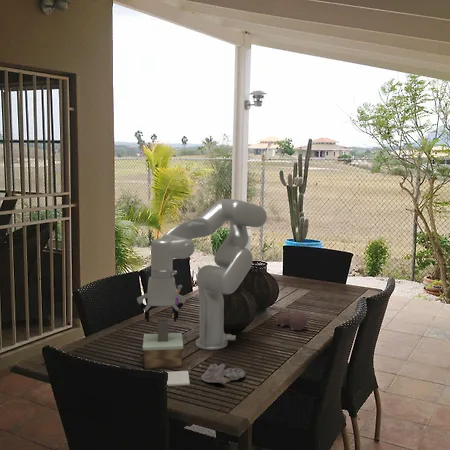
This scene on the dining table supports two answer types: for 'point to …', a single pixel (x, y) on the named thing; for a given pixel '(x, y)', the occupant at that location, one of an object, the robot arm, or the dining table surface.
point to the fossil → (222, 374)
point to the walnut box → (163, 358)
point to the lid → (162, 339)
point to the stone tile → (178, 378)
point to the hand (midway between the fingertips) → (161, 320)
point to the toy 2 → (292, 320)
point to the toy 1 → (176, 298)
